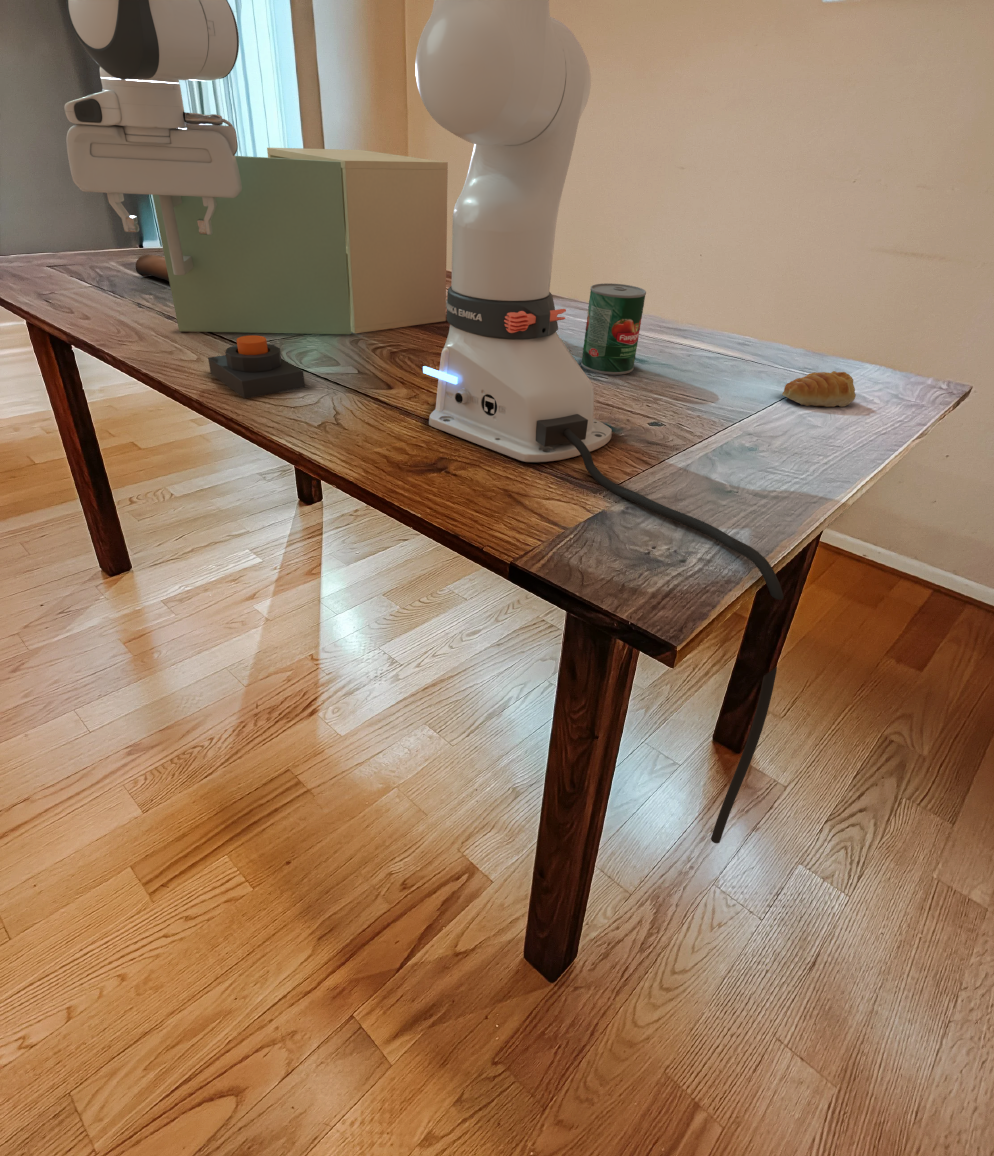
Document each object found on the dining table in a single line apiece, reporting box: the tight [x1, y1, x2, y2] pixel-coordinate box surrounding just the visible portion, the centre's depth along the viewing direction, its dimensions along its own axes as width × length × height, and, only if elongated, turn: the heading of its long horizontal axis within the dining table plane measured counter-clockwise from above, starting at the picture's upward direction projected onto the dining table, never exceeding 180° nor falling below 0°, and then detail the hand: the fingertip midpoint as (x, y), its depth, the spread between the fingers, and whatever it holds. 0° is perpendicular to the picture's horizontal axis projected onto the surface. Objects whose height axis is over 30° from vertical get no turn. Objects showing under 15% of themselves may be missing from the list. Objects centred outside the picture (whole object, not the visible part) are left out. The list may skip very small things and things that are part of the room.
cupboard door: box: [152, 155, 352, 335], centre depth 100 cm, size 7×26×24 cm, turn 98°
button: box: [236, 334, 268, 355], centre depth 88 cm, size 4×4×2 cm
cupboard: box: [266, 147, 449, 334], centre depth 118 cm, size 18×26×24 cm
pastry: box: [781, 370, 857, 408], centre depth 95 cm, size 9×7×4 cm
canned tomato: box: [580, 282, 647, 376], centre depth 101 cm, size 8×8×11 cm
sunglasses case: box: [135, 254, 169, 282], centre depth 134 cm, size 18×7×7 cm
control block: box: [207, 343, 306, 399], centre depth 89 cm, size 11×8×4 cm
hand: (169, 233), depth 94 cm, fingers open, 8 cm apart
